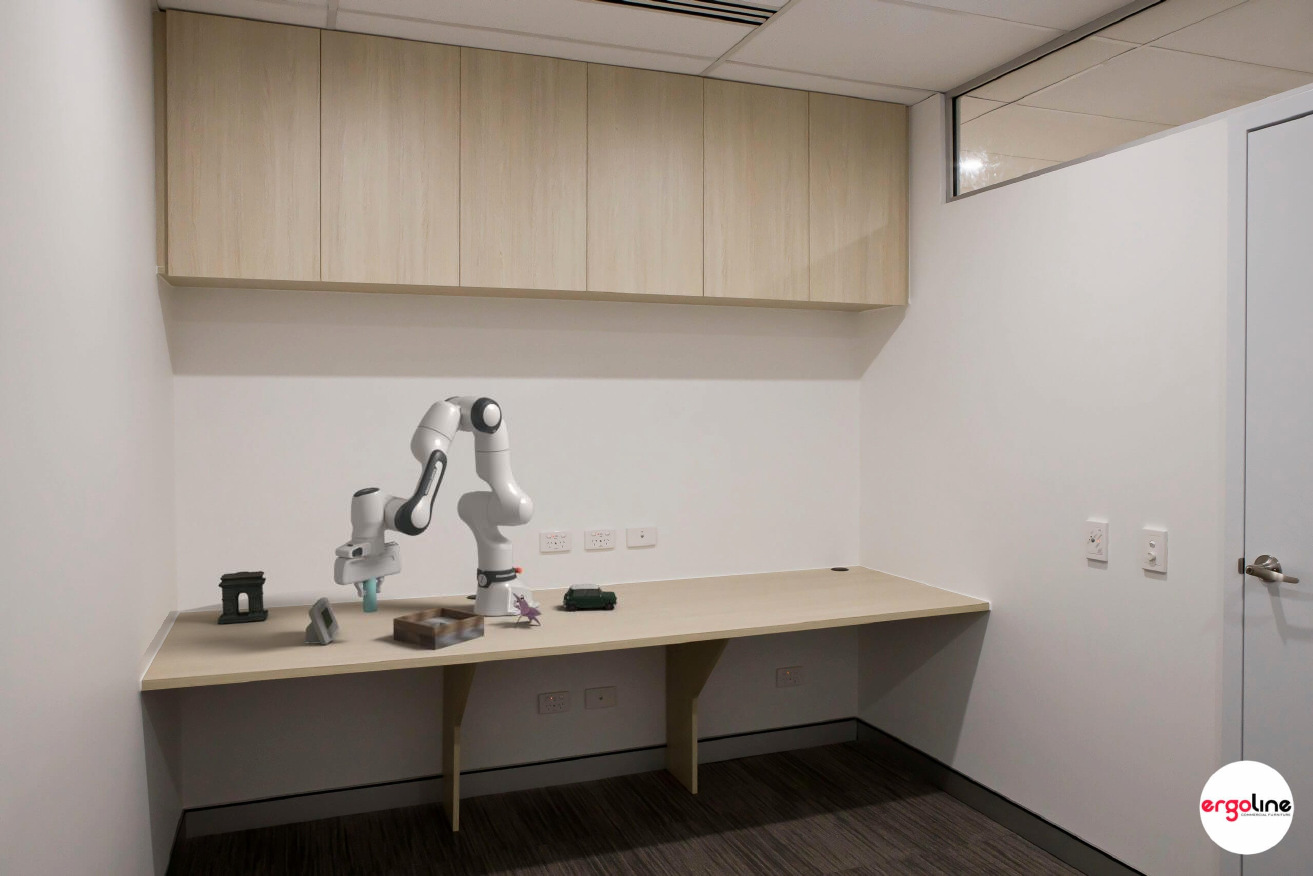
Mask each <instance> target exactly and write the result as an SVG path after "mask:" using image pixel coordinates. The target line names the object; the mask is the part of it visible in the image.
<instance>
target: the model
mask: <svg viewBox="0 0 1313 876" xmlns="http://www.w3.org/2000/svg"><path fill="white" fill-rule="evenodd" d="M264 575H265V572H264V571H262V570H259V571H258V570H257V571H237V572H231V573H230V572H229V573H224V574H223V575H221V577H220V579H219V580H221V582H220V583H219V584H218V587H219V588H221V602H222V614H220V616H219V617H218V618H217V624H218V625H220V624H223V625H224V624H232V623H243V622H255V621H266V620H267V619H268V616H269V610H268V609H264V590H263V589H264V588H263V586H264V584H265V583H266V579H267V578H266V577H264ZM240 594H246V596H247V602H248V603H247V604H248V606H247V607H248V608H247V609H248V611H240V609H239V608H240V605H239V604H240V603H239V599H240V598H239V597H240Z"/></svg>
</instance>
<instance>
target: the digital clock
mask: <svg viewBox="0 0 1313 876" xmlns="http://www.w3.org/2000/svg"><path fill="white" fill-rule="evenodd" d="M333 610H334V609H333V608H332V605H331V603H330V600H329V599H328V597H325V596H323V597H321V598H320V599H318V600H317V601H316V602H315V603H314V604H313V605H312V607H311V608H310V609H309V611H308V615H309V618H310V620H311V622H310V623H309V624H308V625H307V627H305V643H306V642H320V644H321V645H323V644H324V645H328V644H329V643H330V642H331V641H332V639H333V638H334V637H335V636H336V634H337V633H338V632H339V630H340V625H339V623H338V620H337V618H336V616H335V615H336V614H335V613H334V611H333ZM334 635H335V636H334Z"/></svg>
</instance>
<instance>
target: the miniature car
mask: <svg viewBox="0 0 1313 876" xmlns="http://www.w3.org/2000/svg"><path fill="white" fill-rule="evenodd" d="M617 600H618V597H617V596H616V593H615V592H614V591H603V590H602V589H601V587H600V585H599V584H595V583H577V584H572V585H570V586H569V588H568V590H567V591H566V592H565V593H564V596H563V601H562V605H563V607H564V608H566V607H567V608H568V611H569V612H571V613H573V612H576V611H577V609H578V608H605V609H606V611H609V612H610V611H613V610H614V608H615V606H617V605H618V601H617Z"/></svg>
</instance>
